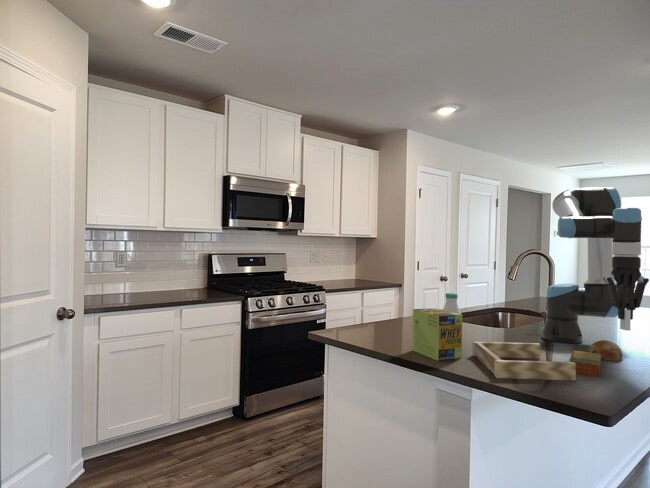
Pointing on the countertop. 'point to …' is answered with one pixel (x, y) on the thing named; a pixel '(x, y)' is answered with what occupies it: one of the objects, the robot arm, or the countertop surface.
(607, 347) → the bread roll
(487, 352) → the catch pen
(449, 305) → the milk bottle
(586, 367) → the carton
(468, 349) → the countertop surface
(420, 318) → the protein box
